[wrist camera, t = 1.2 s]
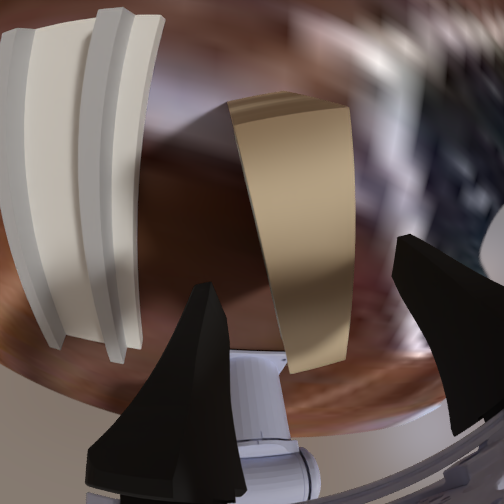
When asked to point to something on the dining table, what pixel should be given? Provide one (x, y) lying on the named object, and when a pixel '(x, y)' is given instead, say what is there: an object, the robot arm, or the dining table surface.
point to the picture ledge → (77, 170)
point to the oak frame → (302, 216)
